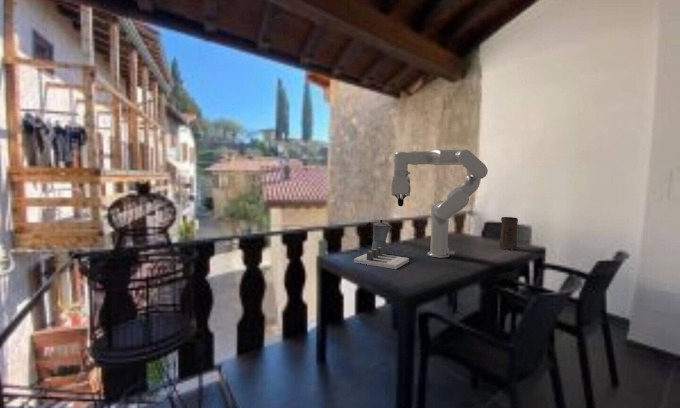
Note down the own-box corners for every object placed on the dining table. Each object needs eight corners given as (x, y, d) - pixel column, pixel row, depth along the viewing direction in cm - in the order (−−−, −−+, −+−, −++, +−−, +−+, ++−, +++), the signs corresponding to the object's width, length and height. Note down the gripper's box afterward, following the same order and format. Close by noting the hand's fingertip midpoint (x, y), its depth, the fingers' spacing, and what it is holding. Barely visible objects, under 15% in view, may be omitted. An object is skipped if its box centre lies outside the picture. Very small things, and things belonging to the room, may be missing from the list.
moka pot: (390, 256, 237) (391, 221, 235) (363, 254, 240) (364, 220, 238) (391, 252, 247) (393, 219, 244) (366, 251, 250) (366, 217, 247)
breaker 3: (382, 254, 231) (382, 247, 231) (380, 255, 229) (380, 248, 228) (378, 253, 233) (378, 246, 232) (376, 255, 230) (376, 247, 230)
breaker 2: (378, 256, 226) (378, 249, 226) (375, 257, 224) (375, 250, 223) (374, 256, 227) (374, 248, 227) (371, 257, 225) (371, 249, 224)
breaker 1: (373, 258, 221) (373, 251, 221) (370, 260, 219) (371, 252, 218) (369, 258, 222) (369, 250, 222) (366, 259, 220) (366, 251, 219)
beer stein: (520, 250, 258) (521, 218, 257) (502, 250, 258) (504, 217, 257) (510, 247, 273) (511, 216, 272) (493, 246, 273) (495, 216, 273)
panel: (408, 261, 226) (408, 257, 225) (395, 269, 210) (396, 265, 210) (368, 255, 238) (368, 252, 237) (353, 262, 222) (353, 258, 222)
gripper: (415, 173, 236) (415, 206, 238) (390, 173, 243) (390, 204, 245) (411, 174, 229) (411, 207, 231) (386, 173, 236) (385, 206, 238)
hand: (400, 206), depth 238 cm, fingers closed
